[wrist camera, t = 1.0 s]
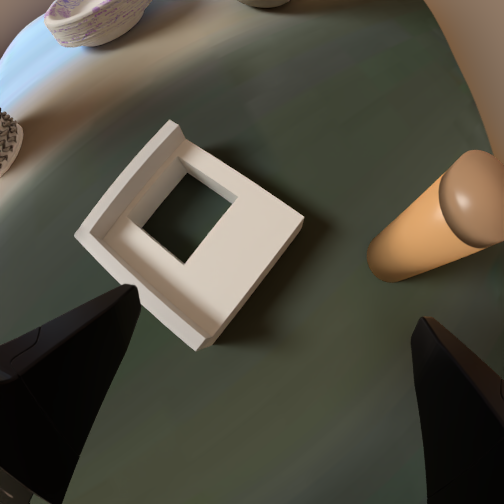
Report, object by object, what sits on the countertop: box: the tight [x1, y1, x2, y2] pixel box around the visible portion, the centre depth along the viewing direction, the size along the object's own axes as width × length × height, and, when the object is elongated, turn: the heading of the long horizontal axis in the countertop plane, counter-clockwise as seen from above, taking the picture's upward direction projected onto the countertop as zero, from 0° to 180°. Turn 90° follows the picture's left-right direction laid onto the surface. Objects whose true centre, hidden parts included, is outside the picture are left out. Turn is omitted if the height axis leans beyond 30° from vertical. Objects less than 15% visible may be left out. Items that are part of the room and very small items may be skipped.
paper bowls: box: [44, 0, 152, 47], centre depth 29 cm, size 15×15×8 cm
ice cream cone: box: [367, 150, 504, 283], centre depth 16 cm, size 4×4×14 cm
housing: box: [74, 120, 304, 351], centre depth 22 cm, size 12×11×5 cm
